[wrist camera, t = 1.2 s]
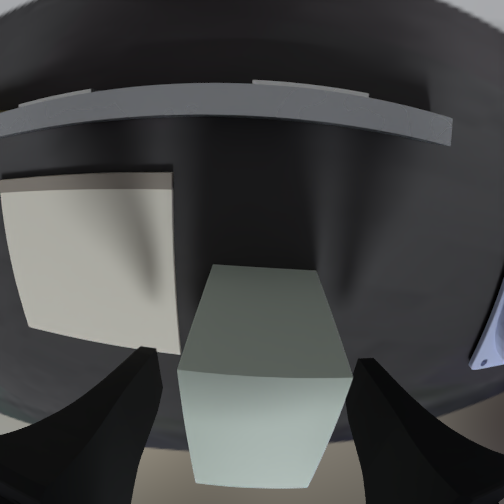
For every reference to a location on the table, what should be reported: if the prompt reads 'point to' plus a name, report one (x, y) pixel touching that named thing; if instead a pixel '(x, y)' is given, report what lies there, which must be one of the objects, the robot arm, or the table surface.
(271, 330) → the sage carton
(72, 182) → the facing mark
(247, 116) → the rail
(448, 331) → the table surface
